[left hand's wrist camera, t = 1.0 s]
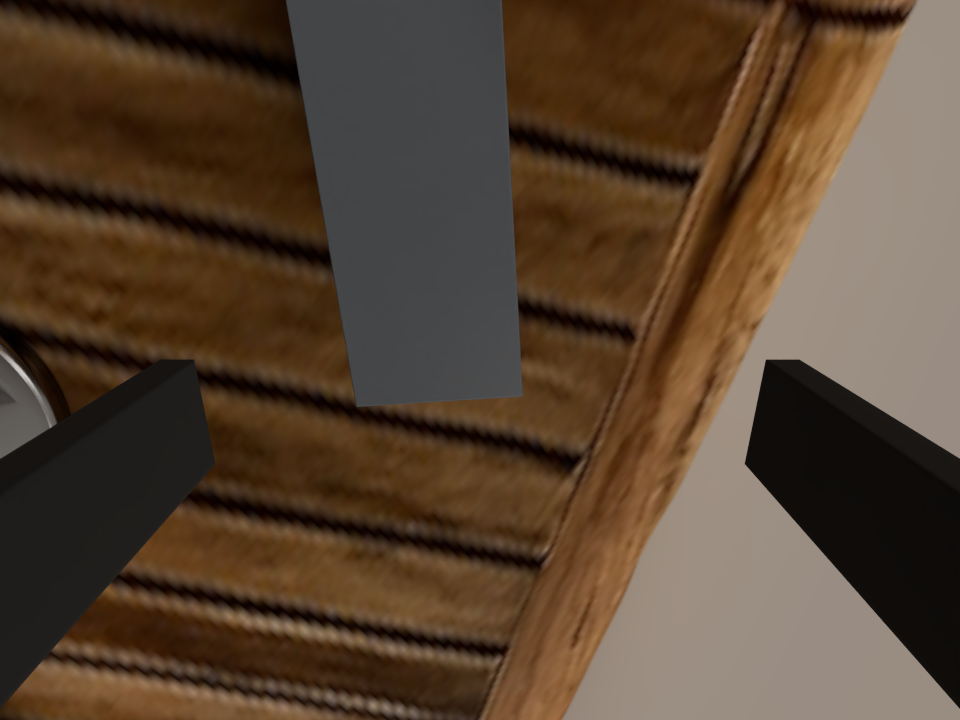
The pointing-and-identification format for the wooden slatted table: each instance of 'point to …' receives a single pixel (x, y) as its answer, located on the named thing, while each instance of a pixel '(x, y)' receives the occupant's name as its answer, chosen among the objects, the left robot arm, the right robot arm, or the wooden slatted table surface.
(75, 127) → the wooden slatted table surface
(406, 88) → the box
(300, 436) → the wooden slatted table surface
